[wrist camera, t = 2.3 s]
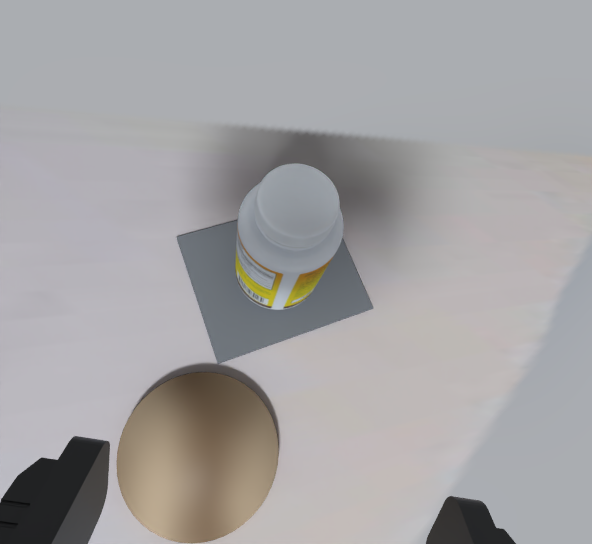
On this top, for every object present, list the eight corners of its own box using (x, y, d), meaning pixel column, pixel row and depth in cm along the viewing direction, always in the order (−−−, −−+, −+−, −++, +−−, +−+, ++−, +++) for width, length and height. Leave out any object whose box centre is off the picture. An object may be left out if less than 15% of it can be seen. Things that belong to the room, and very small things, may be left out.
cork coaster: (142, 571, 24) (140, 574, 23) (101, 404, 26) (99, 404, 25) (299, 499, 26) (301, 500, 25) (248, 352, 28) (248, 351, 28)
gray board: (218, 364, 28) (217, 363, 28) (176, 239, 30) (176, 236, 30) (371, 309, 31) (373, 307, 30) (322, 199, 33) (324, 196, 33)
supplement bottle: (318, 241, 32) (360, 158, 22) (312, 317, 30) (355, 262, 20) (240, 229, 31) (247, 139, 21) (228, 306, 29) (231, 244, 19)
